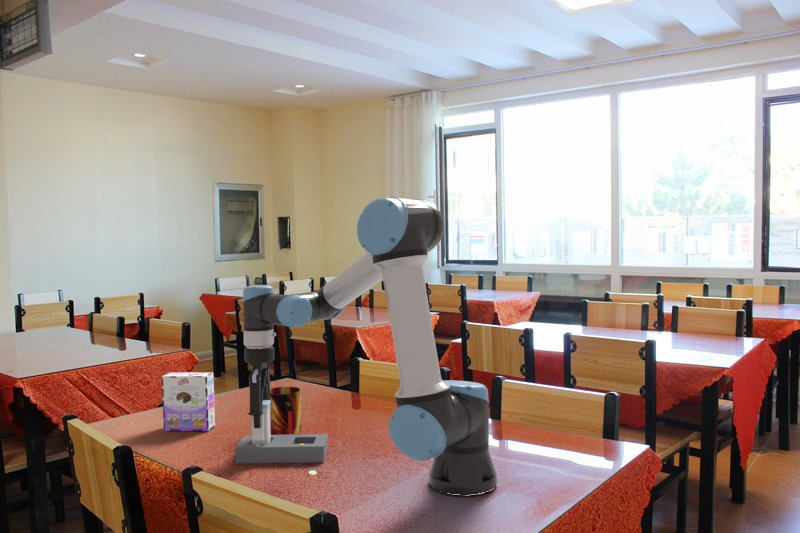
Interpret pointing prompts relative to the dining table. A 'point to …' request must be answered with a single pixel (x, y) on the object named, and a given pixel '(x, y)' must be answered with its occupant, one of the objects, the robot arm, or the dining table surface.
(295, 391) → the mug
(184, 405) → the candy box
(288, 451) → the panel
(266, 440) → the plug
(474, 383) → the robot arm
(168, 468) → the dining table surface
